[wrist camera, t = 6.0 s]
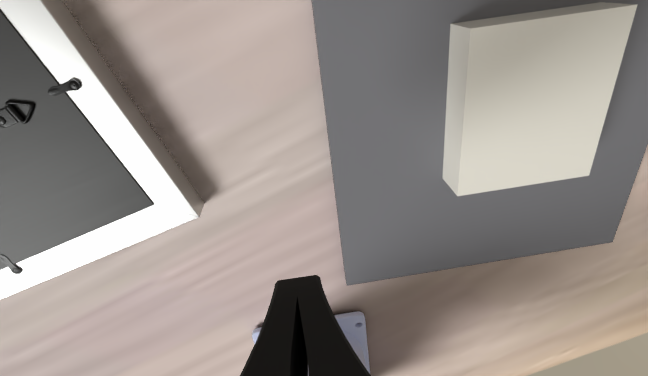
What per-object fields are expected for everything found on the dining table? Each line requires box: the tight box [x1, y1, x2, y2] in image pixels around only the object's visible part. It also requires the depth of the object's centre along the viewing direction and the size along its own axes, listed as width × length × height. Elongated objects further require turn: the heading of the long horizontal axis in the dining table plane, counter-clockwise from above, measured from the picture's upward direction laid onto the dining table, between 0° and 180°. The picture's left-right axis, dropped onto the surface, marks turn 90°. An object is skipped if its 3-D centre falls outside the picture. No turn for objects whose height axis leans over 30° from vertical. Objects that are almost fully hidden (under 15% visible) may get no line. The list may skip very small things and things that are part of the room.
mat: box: [312, 0, 648, 285], centre depth 19 cm, size 22×18×1 cm
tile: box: [443, 2, 637, 196], centre depth 18 cm, size 8×2×7 cm
